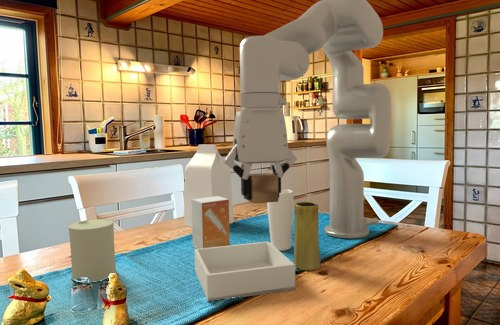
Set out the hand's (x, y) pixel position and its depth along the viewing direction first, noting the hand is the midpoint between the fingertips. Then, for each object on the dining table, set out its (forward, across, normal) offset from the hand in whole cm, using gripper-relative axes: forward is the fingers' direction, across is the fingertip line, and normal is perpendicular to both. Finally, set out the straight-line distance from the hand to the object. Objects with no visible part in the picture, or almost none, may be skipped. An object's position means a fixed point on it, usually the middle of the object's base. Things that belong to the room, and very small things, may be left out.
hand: (261, 197), depth 78 cm
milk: (+18, 0, -54) cm, 57 cm away
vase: (+18, -13, -8) cm, 24 cm away
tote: (+18, +3, -5) cm, 19 cm away
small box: (+18, +4, -29) cm, 34 cm away
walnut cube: (+1, 0, 0) cm, 1 cm away
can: (+18, +32, -19) cm, 42 cm away
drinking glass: (+18, -13, -22) cm, 31 cm away
